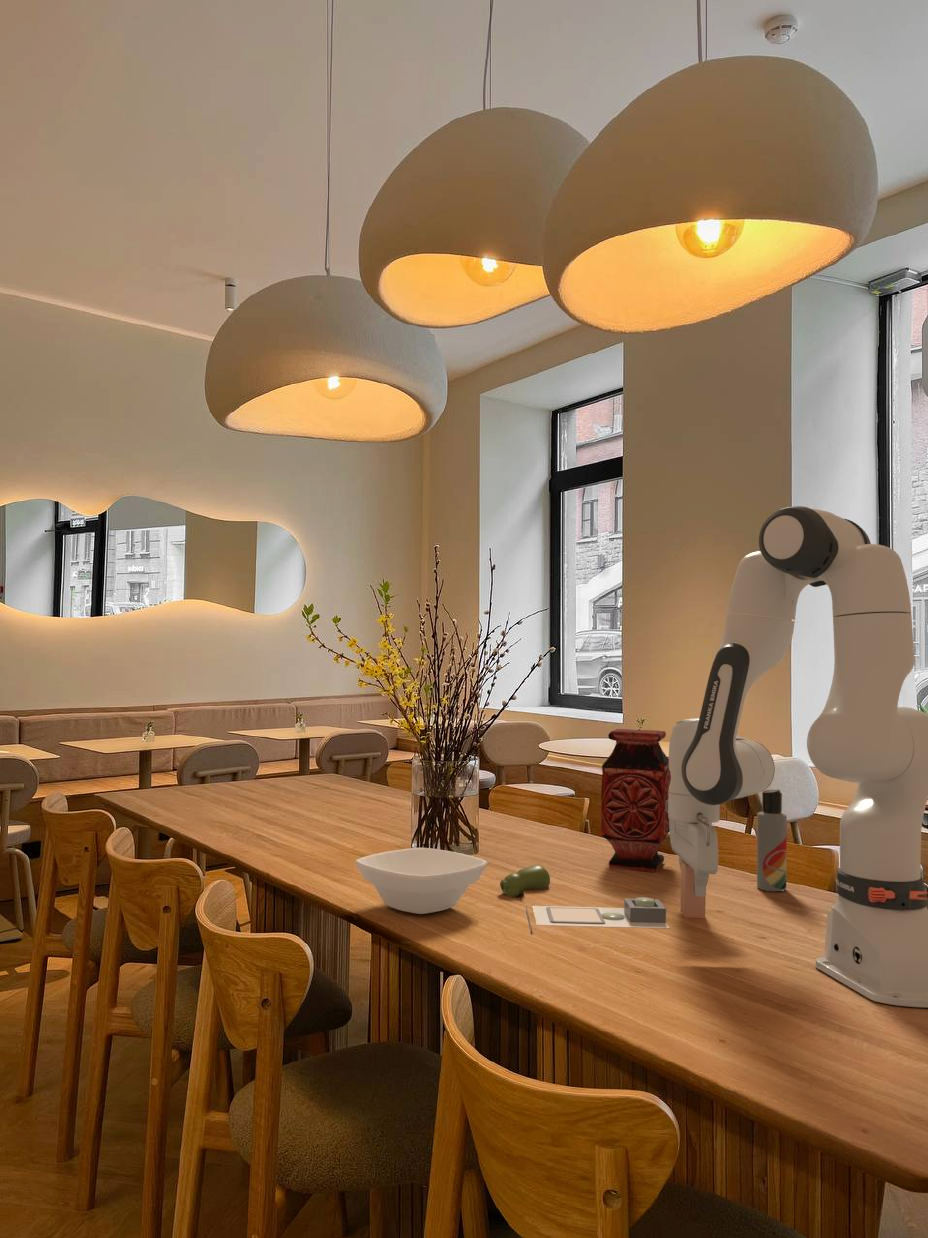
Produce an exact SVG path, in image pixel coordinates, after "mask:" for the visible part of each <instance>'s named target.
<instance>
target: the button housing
mask: <svg viewBox="0 0 928 1238" xmlns="http://www.w3.org/2000/svg"><path fill="white" fill-rule="evenodd" d="M635 899H636V898H624V900H623V901H624V903H623V904H624V905H623V906H624V907H623V908H624V913H625V915H626V916H627V918H628V919H629V921H630V922H644V923H666V924H667V920H666V919H667V909H666V907H665V905H664V904H663V903H662V902H661V900H660V899H654V907H642V906H635Z"/></svg>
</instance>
